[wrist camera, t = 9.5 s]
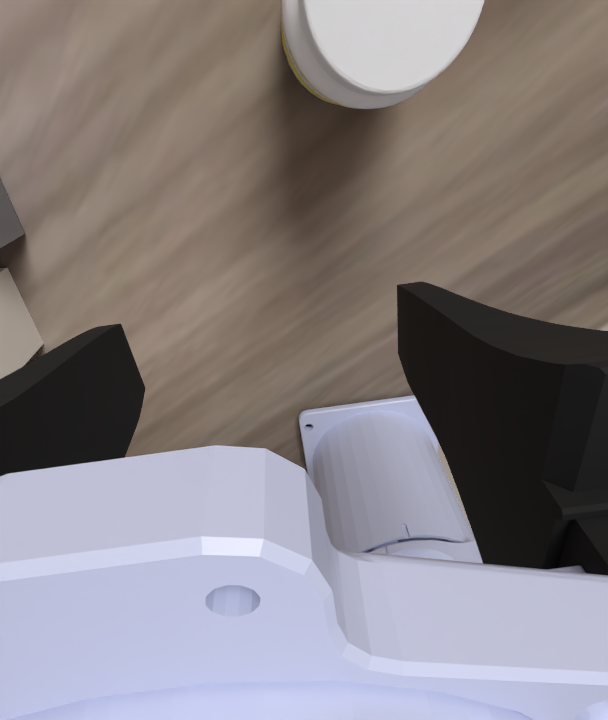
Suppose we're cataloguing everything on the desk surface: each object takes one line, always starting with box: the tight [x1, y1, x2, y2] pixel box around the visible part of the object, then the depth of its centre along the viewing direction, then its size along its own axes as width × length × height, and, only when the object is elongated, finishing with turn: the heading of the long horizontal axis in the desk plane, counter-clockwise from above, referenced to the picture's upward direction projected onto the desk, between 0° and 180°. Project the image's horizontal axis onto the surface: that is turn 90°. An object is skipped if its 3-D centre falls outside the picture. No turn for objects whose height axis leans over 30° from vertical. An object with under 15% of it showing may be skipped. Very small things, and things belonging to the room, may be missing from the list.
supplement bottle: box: [281, 0, 484, 109], centre depth 13 cm, size 5×5×8 cm
